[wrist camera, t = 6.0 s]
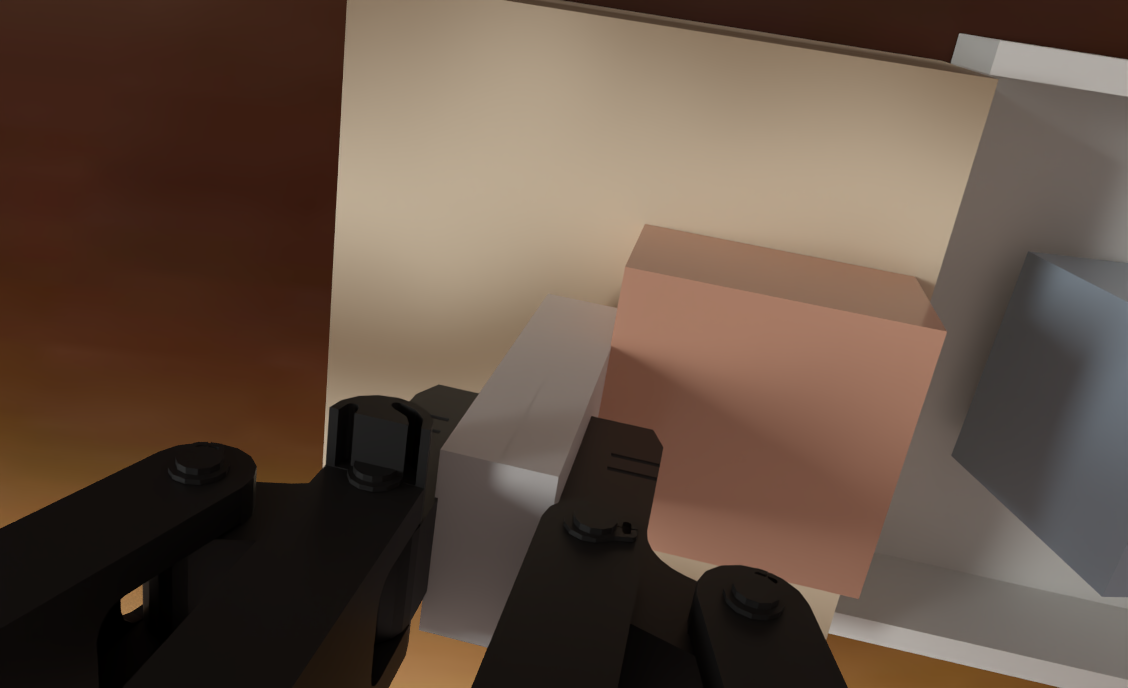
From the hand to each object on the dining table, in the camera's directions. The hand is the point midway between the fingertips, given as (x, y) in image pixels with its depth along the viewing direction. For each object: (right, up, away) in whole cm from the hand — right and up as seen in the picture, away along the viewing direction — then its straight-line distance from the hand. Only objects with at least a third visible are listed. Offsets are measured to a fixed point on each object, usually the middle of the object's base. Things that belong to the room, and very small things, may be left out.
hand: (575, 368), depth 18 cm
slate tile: (+10, -1, +1) cm, 10 cm away
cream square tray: (+2, +2, +5) cm, 6 cm away
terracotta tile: (+3, 0, +1) cm, 3 cm away
